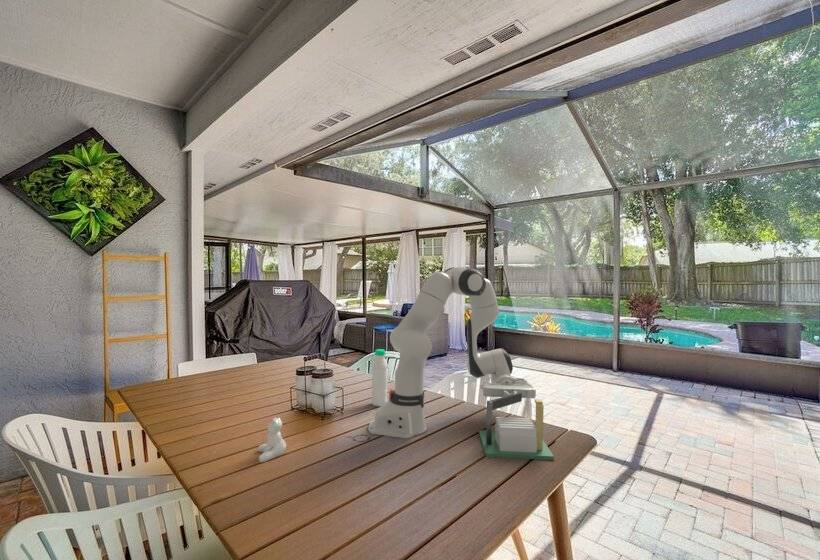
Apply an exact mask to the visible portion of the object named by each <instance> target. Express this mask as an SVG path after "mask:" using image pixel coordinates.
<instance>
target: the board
mask: <svg viewBox="0 0 820 560" xmlns="http://www.w3.org/2000/svg"><path fill="white" fill-rule="evenodd" d="M541 399H542V398H541ZM541 399H540V398H539V399H536V398H534V402H535V425H534V423H533V421H532V420H531V418H530V417H529V418H528V417H527V418H526V417H500V416H499V417H498V416H496V417H495V427H494V429H495V430H492V444H487V443H486V429H485V430H482V429H481V430H478V434H480V435H479V438H480V442H481V444H482V449H483V452H484V456H485V457H486V458H503V459H524V458H525V460H545V461H546V460H547V461H554V460H555V456H554V454H553V452H552V451H551V450H550V448H549V447H548V444H547V442H545V441H544V410H545V409H544V402H543V401H542V400H541Z"/></svg>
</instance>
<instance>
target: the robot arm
mask: <svg viewBox="0 0 820 560" xmlns="http://www.w3.org/2000/svg"><path fill="white" fill-rule="evenodd" d="M453 293H454V294H456V295H461V296H468V299H469V302H470V306H471V307H470V308H471V314H470V316H469V317H470V318H468V319H467V320H466V321H467V322H466V346H467V347H466V349H467V359H466V361H467V362H466V364H467V365H466V368H467V370H468V373H469V375H471V376H473V377H474V378H477V379H479V378H482V377H485V376H488V375H490V377H489V379H490V382H484V383H483V384H481V385H480V389H481V390H482V396H483V397H487V398H488V397H489V398H501V397H505V396H508V395H512V394H515V393H522V399H536V395H537V391H536V387H534V385H533V384H531V383H530V382H528V380H527V378H526V379H525V378H520V377H515V376H512V372H513V369H514V366H513V363H512V359H511V357H510V354H509V352H507V351H506V350H505V349H504V348H502V347H501V348H496V349H492V350H487V351H484V352H478V344H477V343H478V341H477V340H478V335H479V334H480V333H481V332H482V331H483V330H484V329H486V328H487V327H488V326H489V327H490V325H492V324H493V323H494V322H495V321H496V320H497V318H498V317H499V313H500V312H499V311H500V309H499V303H498V299H497V296H496V292H495V289H494V286H493V284H492V282H491V281H490V280H489V279H488V278H485V277H484V275H483V274H482V273H481V272H480V271H479V270H477V269H475V268H470V267H468V268H467V267H462V266H461V267H455V266H454V267H449V268H447V269H446V270H444V271H434V272H432V273H431V275H430V276H429V277H428V278H427V280H426V281H425V282H424V283H423V286H422V287H421V289H420V291H419V293H418V295H417V296H416V299H415V300H414V302H413V304H412V306H411V308H410V309H409V311H408V312H407V313H406V315H405V316H404V317H403V319H402V320H401V321H400V322H399V324H398V325H397V326H396V327H395V328H393V329H392V331H391V332H390V335H389V342H390V344H391V346H392V348H393V349H394V350H395V351H396V352H398V353H399V360H398V364H397V368H396V369H395V370H394V388H390V389H389V391H388V392H389V395H388V396H389V398H388V399H389V400H387V403H385V404H384V405H382V406H379V408H378V409H377V410H376V413H375V414H374V418H373V419H372V420H370V422H369V424H368V428H367V429H368V430H367V431H368V433H370V434H371V435H378V436H379V435H380V436H384V437H393V438H394V437H395V438H399V439H400V438H401V439H410V438H412V437H414V436H418V435H421V434H423V433H425V432H426V431H427V428H428V427H427V424H426V417H425V409H424V407H425V391H424V374H425V367H426V363H427V360H428V358H429V356H430V355H431V352H432V349H433V343H432V340H431V338H430V337H429V336H428V335H427V334H426V332H427V331H428V330H429V328H430V327H432V326H433V325H434V324H435V323H436V322H437V320H438V319H439V317H440V315H441V312H442V311H443V310H444V307H445V304H446V303H447V300H448V299H449V297H450V295H451V294H453Z"/></svg>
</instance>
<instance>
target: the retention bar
mask: <svg viewBox="0 0 820 560" xmlns="http://www.w3.org/2000/svg"><path fill="white" fill-rule="evenodd" d="M522 401H523V398H522V393H515V394H512V395H508V396H505V397H497V398H495V399H492V400H491V399H490V400H486V412H485V413H486V415H485V416H486V419H485V420H486V421H485V422H486V424H485V431H486V443H487V444H492V431H493V411H495V410H497V409H501V408H505V407H507V406H510V405H514V404H518V403H521V402H522Z"/></svg>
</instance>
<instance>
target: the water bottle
mask: <svg viewBox="0 0 820 560" xmlns="http://www.w3.org/2000/svg"><path fill="white" fill-rule="evenodd" d="M374 355H375V359H374V361H373V362H372V365H371V366H372V367H371V368H372V371H371V372H372V374H371V375H372V377H371V386H372V389H371V404H372V405H373V406H374V407H381V406H382V405H384V404H385V403H387V402H388V377H389V376H388V368H389V367H388V366H389V365H388V362H387V360H386V358H385V356H386V350H385V348H384V349H382V348H379V349H375V351H374Z"/></svg>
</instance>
